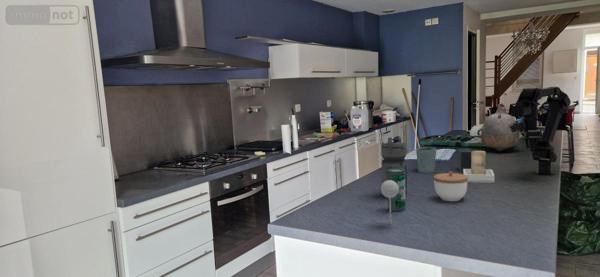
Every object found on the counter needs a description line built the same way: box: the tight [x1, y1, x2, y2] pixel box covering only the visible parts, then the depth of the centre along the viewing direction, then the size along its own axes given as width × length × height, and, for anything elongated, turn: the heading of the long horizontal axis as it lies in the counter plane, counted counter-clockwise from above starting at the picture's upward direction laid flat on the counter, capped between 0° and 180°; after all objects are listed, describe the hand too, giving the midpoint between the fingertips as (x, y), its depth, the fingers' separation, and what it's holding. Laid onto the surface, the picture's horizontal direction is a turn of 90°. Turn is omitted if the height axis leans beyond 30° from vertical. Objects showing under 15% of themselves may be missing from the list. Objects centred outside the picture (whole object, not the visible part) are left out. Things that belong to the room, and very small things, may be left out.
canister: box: [471, 150, 486, 175], centre depth 192 cm, size 6×6×12 cm
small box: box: [457, 148, 473, 173], centre depth 214 cm, size 11×6×10 cm, turn 168°
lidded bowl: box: [433, 171, 468, 202], centre depth 164 cm, size 13×13×11 cm
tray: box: [462, 168, 495, 184], centre depth 193 cm, size 13×13×4 cm
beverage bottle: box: [380, 135, 408, 196], centre depth 174 cm, size 10×13×25 cm
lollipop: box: [380, 180, 399, 225], centre depth 139 cm, size 6×6×15 cm
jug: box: [476, 102, 524, 152], centre depth 259 cm, size 24×21×30 cm
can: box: [387, 168, 407, 212], centre depth 155 cm, size 6×6×15 cm
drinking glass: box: [415, 146, 437, 174], centre depth 216 cm, size 10×10×12 cm
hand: (529, 149), depth 190 cm, fingers open, 9 cm apart
